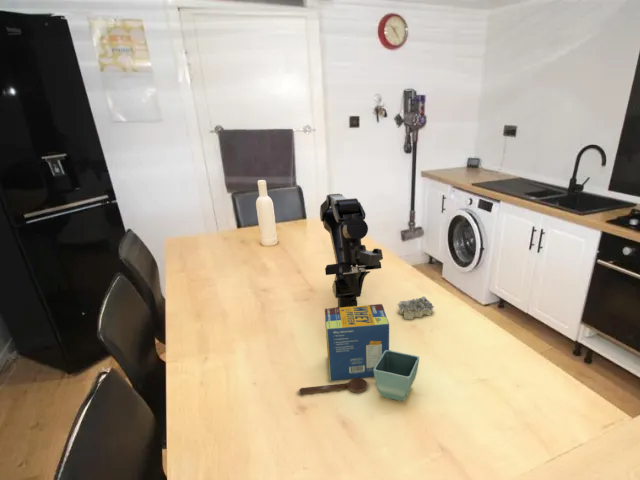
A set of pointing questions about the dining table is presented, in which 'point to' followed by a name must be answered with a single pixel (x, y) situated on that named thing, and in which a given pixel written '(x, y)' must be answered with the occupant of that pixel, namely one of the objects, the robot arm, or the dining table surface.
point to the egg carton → (415, 308)
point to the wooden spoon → (339, 387)
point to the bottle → (266, 216)
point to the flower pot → (395, 374)
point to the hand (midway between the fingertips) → (358, 296)
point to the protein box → (355, 340)
